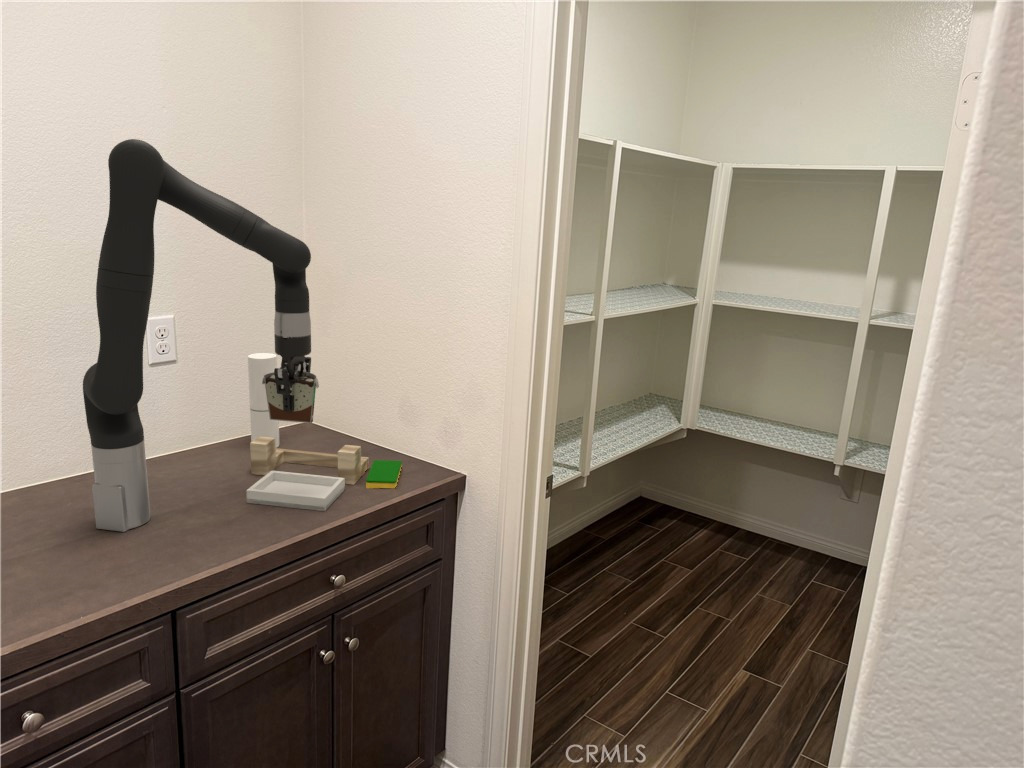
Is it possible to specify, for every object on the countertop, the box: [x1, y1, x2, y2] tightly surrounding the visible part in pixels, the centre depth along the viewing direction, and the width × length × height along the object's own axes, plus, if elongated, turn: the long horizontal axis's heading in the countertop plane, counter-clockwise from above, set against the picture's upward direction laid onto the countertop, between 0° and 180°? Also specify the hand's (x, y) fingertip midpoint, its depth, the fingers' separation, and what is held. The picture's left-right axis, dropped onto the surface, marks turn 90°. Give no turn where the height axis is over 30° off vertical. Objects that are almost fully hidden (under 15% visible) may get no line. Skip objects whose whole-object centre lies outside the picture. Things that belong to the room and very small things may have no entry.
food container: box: [262, 372, 320, 424], centre depth 153 cm, size 12×6×10 cm, turn 84°
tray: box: [246, 470, 346, 512], centre depth 158 cm, size 12×18×3 cm, turn 83°
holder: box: [249, 437, 370, 486], centre depth 172 cm, size 11×26×8 cm, turn 83°
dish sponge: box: [365, 459, 403, 489], centre depth 172 cm, size 7×14×2 cm, turn 3°
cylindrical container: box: [247, 352, 280, 448], centre depth 186 cm, size 7×7×25 cm
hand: (294, 407), depth 153 cm, fingers closed on food container, 5 cm apart
